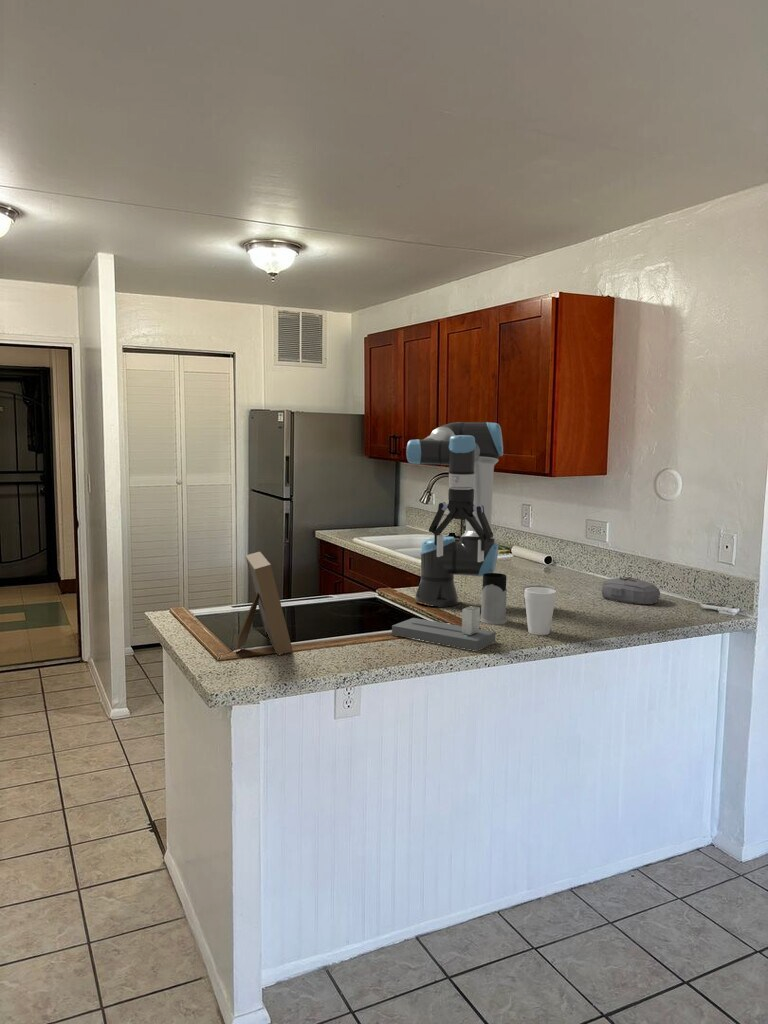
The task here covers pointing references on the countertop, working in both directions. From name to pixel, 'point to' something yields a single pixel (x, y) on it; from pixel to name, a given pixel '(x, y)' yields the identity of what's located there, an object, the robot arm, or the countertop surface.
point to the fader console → (443, 633)
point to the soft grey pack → (630, 591)
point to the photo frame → (265, 605)
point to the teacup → (538, 586)
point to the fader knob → (470, 620)
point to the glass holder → (493, 598)
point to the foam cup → (539, 609)
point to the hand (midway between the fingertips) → (459, 558)
